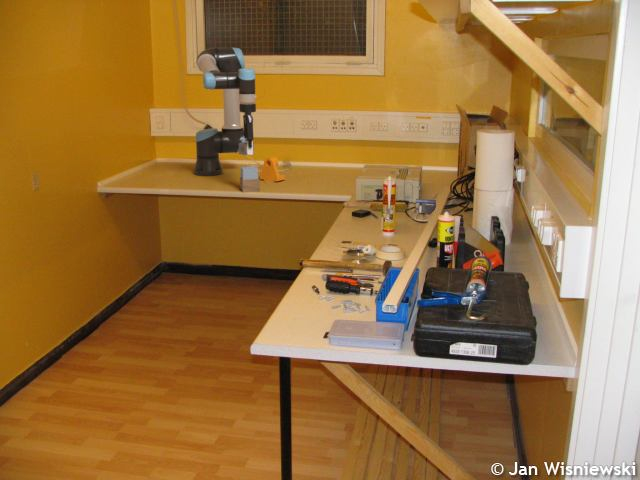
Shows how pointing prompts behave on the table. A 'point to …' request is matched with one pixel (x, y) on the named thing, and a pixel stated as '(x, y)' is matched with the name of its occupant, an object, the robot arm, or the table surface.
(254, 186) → the tower bottom
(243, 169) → the tower top
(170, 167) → the table surface
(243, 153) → the dice cube
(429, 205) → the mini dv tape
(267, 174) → the bracket
